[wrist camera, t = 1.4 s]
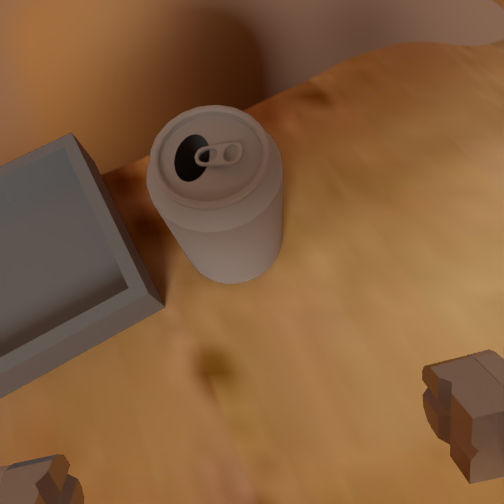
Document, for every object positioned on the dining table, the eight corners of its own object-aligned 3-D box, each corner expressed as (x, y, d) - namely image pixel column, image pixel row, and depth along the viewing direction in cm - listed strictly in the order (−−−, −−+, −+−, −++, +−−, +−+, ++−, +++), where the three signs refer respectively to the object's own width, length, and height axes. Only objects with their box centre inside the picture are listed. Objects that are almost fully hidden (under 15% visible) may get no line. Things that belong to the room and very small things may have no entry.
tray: (93, 161, 34) (71, 132, 31) (164, 307, 29) (148, 293, 26) (-72, 243, 33) (-118, 222, 29) (-27, 413, 28) (-75, 415, 24)
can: (194, 196, 33) (150, 89, 21) (285, 201, 32) (288, 93, 21) (180, 283, 30) (121, 213, 19) (278, 291, 29) (278, 222, 18)
